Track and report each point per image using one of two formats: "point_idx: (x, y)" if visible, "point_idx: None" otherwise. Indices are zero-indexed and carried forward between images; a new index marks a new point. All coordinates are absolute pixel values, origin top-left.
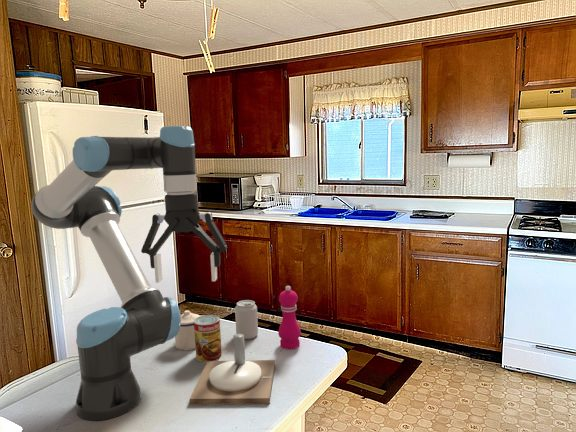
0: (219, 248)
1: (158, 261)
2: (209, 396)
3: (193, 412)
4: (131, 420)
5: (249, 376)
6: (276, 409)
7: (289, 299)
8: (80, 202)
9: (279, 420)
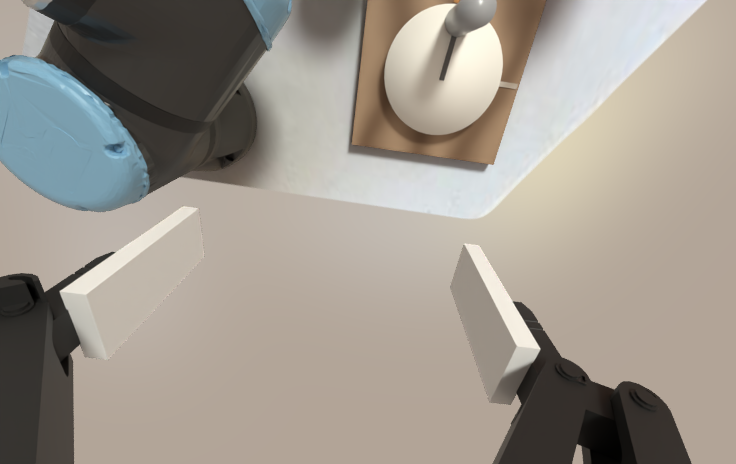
0: (579, 437)
1: (135, 308)
2: (387, 141)
3: (361, 166)
4: (265, 172)
5: (471, 100)
6: (497, 179)
7: None
8: None
9: (494, 207)
